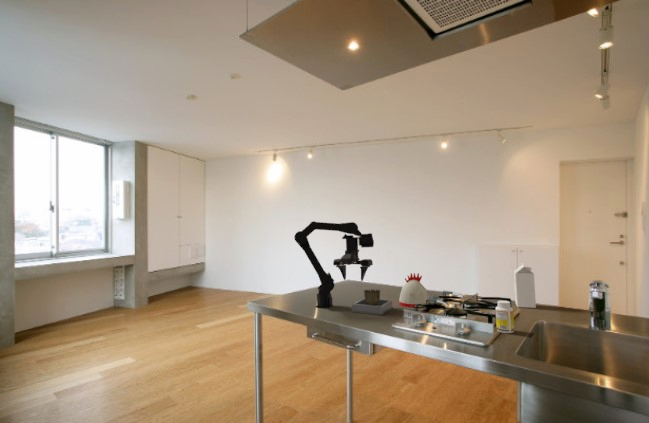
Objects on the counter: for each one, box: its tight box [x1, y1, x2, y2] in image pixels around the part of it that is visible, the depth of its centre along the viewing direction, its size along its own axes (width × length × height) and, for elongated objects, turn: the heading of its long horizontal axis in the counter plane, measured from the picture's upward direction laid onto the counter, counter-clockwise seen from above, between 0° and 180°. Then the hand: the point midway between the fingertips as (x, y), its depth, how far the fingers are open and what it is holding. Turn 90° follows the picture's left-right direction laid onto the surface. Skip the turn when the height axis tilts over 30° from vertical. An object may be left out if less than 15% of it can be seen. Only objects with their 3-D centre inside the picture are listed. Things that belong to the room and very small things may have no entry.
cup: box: [363, 288, 381, 306], centre depth 158 cm, size 8×7×8 cm
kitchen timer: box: [398, 272, 430, 309], centre depth 167 cm, size 14×14×15 cm
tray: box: [351, 297, 394, 316], centre depth 158 cm, size 14×14×4 cm
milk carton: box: [513, 262, 537, 309], centre depth 157 cm, size 7×7×19 cm
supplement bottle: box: [495, 300, 515, 334], centre depth 122 cm, size 6×6×10 cm
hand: (353, 280), depth 170 cm, fingers open, 9 cm apart
